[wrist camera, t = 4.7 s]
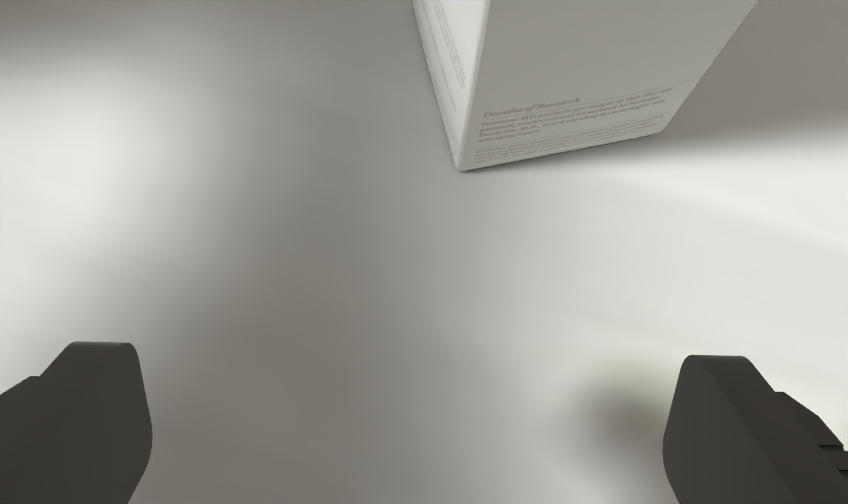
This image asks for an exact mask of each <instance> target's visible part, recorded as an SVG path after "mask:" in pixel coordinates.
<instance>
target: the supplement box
mask: <svg viewBox="0 0 848 504" xmlns="http://www.w3.org/2000/svg"><path fill="white" fill-rule="evenodd" d="M757 2H758V0H412V4H413V8H414V12H415V17H416V21H417V25H418V30H419V33H420V37H421V41H422V45H423V49H424V53H425V56H426V60H427V64H428V68H429V71H430V75H431V79H432V82H433V86H434V90H435V94H436V97H437V101H438V105H439V108H440V112H441V116H442V119H443V123H444V127H445V130H446V134H447V138H448V142H449V145H450V149H451V153H452V156H453V160H454V164H455V168H456V170H458V171H464V170H471V169H477V168H482V167H487V166H494V165H498V164H503V163H509V162H513V161H519V160H523V159H530V158H536V157H541V156H546V155H550V154H555V153H561V152H567V151H572V150H577V149H582V148H587V147H592V146H598V145H603V144H608V143H613V142H618V141H622V140H630V139H634V138H639V137H643V136H647V135H652V134H656V133H660V132H661V131H663V130H664V129H665V127H666V126H667V125H668V123H669V122H670V121H671V119H672V118H673V116H674V115H675V114H676V112H677V111H678V109H679V108H680V107H681V105H682V104H683V103H684V101H685V100H686V99H687V97H688V96H689V95H690V94H691V92H692V91H693V89H694V88H695V87H696V85H697V84H698V82H699V81H700V80H701V78H702V77H703V76H704V74H705V73H706V71H707V70H708V69H709V67H710V66H711V65H712V63H713V62H714V61H715V59H716V58H717V56H718V55H719V54H720V52H721V51H722V49H723V48H724V47H725V45H726V44H727V43H728V41H729V40H730V38H731V37H732V36H733V34H734V33H735V32H736V30H737V29H738V28H739V26H740V25H741V24H742V22H743V21H744V20H745V18H746V17H747V15H748V14H749V13H750V11H751V10H752V8H753V7H754V6H755V4H756V3H757Z"/></svg>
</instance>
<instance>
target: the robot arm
mask: <svg viewBox="0 0 848 504" xmlns="http://www.w3.org/2000/svg"><path fill="white" fill-rule="evenodd" d="M843 446H844V445H843V444H842V443H841V442H840V441H839V439H838V438H837V437H836V436H835V435H834V434H833V433H832V431H831V430H830V429H829V428H828V427H827V426H826V424H825V423H824V422H823V421H822V420H821V419H820V417H819V416H817V415H816V414H814V413H813V412H812V411H810V410H809V409H807V408H806V407H804V406H803V405H802V404H800V403H799V402H797V401H796V400H794V399H793V398H792V397H790V396H789V395H787V394H786V393H784V392H775V391H774V390H773V389H772V388H771V386H770V385H769V384H768V383H767V381H766V380H765V379H764V378H763V376H762V375H761V374H760V373H759V371H758V370H757V369H756V368H755V366H754V365H753V364H752V363H751V362H750V361H749V360H748V359H747V358H745V357H743V356H716V355H690V356H688V357H687V358H686V359H685V360H684V362H683V364H682V366H681V370H680V373H679V377H678V381H677V385H676V389H675V393H674V397H673V401H672V405H671V409H670V413H669V417H668V421H667V425H666V429H665V433H664V438H663V460H664V466H665V471H666V474H667V478H668V480H669V483H670V485H671V487H672V489H673V491H674V493H675V495H676V497H677V500H678V502H679V504H848V451H844V449H843ZM151 447H152V425H151V419H150V414H149V409H148V404H147V399H146V394H145V389H144V384H143V379H142V374H141V368H140V363H139V358H138V354H137V352H136V349H135V348H134V346H133V345H132V344H130V343H115V342H73V343H71V344H69V345H68V346H67V347H66V348H65V349H64V350H63V351H62V352H61V353H60V354H59V356H58V357H57V358H56V359H55V360H54V361H53V362H52V363H51V364H50V366H49V367H48V368H47V369H46V370H45V371H44V372H43V373H42V374H41V376H30V377H28V378H27V379H25V380H23V381H22V382H20V383H19V384H17V385H15V386H14V387H12V388H10V389H9V390H7V391H6V392H4V393H2V394H1V395H0V504H128V502H129V500H130V498H131V496H132V494H133V492H134V490H135V489H136V487H137V485H138V483H139V481H140V479H141V477H142V475H143V474H144V471H145V469H146V467H147V464H148V461H149V457H150V453H151Z"/></svg>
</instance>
